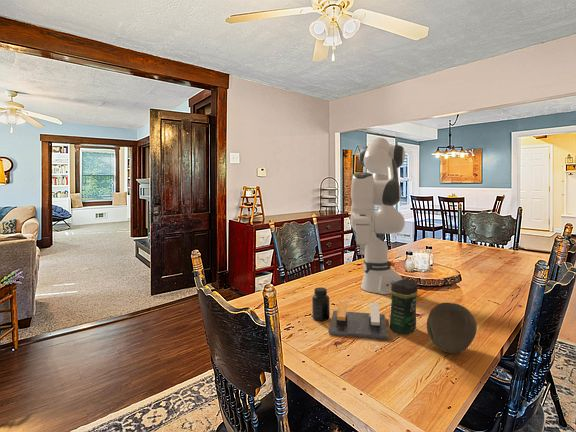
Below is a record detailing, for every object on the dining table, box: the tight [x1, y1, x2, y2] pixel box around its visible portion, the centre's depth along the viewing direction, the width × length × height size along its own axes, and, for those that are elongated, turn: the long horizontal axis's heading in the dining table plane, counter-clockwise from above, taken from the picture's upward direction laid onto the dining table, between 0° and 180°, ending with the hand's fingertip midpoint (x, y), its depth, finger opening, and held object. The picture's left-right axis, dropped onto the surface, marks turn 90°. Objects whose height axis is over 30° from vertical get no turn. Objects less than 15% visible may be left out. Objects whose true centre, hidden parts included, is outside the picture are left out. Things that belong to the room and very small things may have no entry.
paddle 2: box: [369, 302, 381, 326], centre depth 120 cm, size 10×4×2 cm, turn 167°
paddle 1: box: [336, 301, 348, 321], centre depth 123 cm, size 10×4×2 cm, turn 167°
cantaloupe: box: [426, 301, 478, 354], centre depth 104 cm, size 14×14×15 cm
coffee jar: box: [389, 277, 418, 336], centre depth 118 cm, size 10×8×19 cm
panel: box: [328, 310, 389, 341], centre depth 122 cm, size 18×20×3 cm
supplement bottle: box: [311, 287, 331, 323], centre depth 129 cm, size 7×7×12 cm
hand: (362, 250), depth 127 cm, fingers open, 8 cm apart
